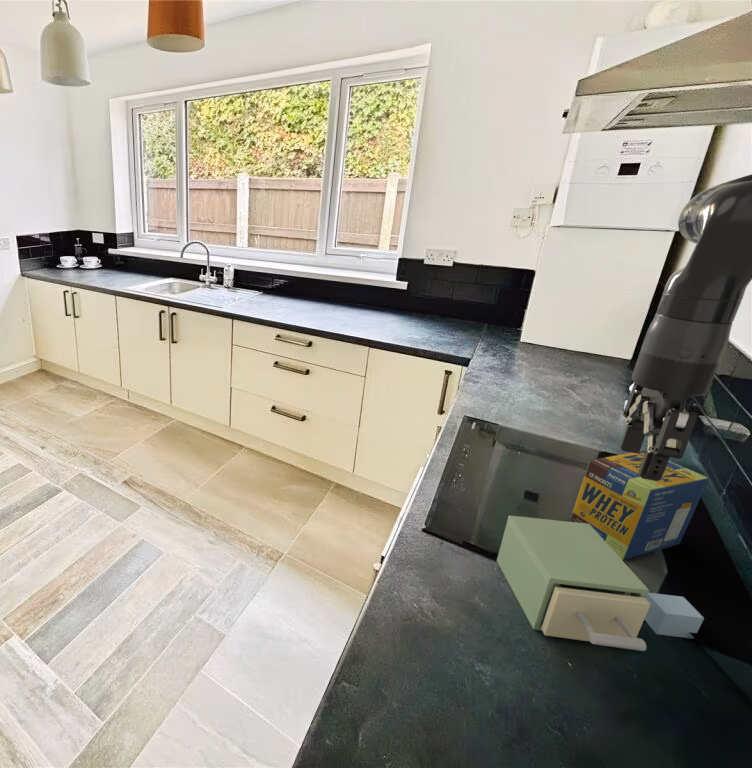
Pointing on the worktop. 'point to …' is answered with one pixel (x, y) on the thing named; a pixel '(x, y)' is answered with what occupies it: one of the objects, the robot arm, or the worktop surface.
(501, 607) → the worktop surface
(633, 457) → the protein box
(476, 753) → the worktop surface
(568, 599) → the drawer
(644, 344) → the robot arm
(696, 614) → the block
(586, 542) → the cabinet
